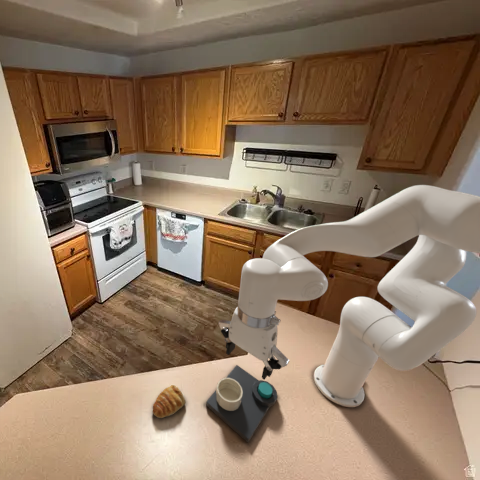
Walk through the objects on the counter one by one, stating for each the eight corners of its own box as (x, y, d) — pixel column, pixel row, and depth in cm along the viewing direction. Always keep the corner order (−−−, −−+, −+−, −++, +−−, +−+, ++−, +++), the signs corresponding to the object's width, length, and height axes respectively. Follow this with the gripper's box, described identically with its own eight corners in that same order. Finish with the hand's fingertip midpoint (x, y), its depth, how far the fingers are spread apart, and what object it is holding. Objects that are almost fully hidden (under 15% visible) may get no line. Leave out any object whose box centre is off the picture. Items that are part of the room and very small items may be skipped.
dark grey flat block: (236, 368, 83) (237, 360, 81) (278, 398, 74) (281, 391, 73) (206, 405, 73) (206, 398, 72) (250, 445, 64) (252, 438, 63)
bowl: (224, 382, 77) (225, 373, 75) (245, 398, 73) (247, 389, 71) (211, 399, 73) (212, 389, 71) (232, 417, 69) (233, 407, 66)
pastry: (162, 427, 69) (161, 419, 67) (147, 407, 73) (146, 399, 72) (187, 403, 74) (187, 396, 72) (172, 386, 78) (171, 378, 77)
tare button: (261, 383, 75) (262, 379, 74) (273, 392, 73) (274, 388, 72) (255, 392, 73) (256, 388, 72) (267, 401, 71) (268, 397, 70)
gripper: (303, 322, 53) (288, 374, 61) (230, 286, 64) (226, 334, 72) (288, 345, 48) (274, 397, 57) (212, 302, 60) (210, 351, 68)
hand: (247, 362), depth 64 cm, fingers open, 9 cm apart
